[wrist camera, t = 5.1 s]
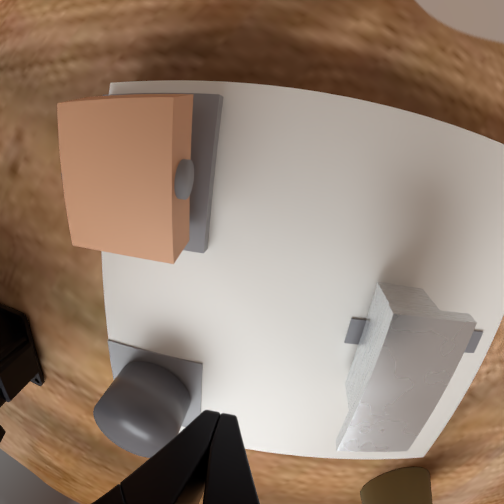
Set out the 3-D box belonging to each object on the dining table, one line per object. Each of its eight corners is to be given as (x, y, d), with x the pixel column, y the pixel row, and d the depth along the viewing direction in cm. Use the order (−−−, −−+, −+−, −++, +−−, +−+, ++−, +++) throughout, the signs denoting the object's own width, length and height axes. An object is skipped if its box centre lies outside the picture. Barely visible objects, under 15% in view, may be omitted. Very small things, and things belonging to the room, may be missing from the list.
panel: (134, 397, 19) (117, 423, 16) (132, 89, 13) (102, 81, 10) (416, 435, 17) (425, 464, 14) (518, 158, 11) (550, 163, 9)
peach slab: (91, 225, 12) (68, 244, 10) (81, 97, 9) (52, 103, 8) (194, 241, 11) (179, 265, 10) (199, 94, 9) (181, 97, 7)
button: (124, 406, 16) (101, 442, 13) (115, 352, 15) (86, 388, 12) (190, 425, 16) (174, 466, 13) (190, 372, 14) (170, 416, 11)
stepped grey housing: (331, 390, 13) (336, 450, 10) (368, 267, 11) (393, 313, 8) (391, 394, 13) (407, 451, 10) (436, 278, 11) (477, 322, 8)
